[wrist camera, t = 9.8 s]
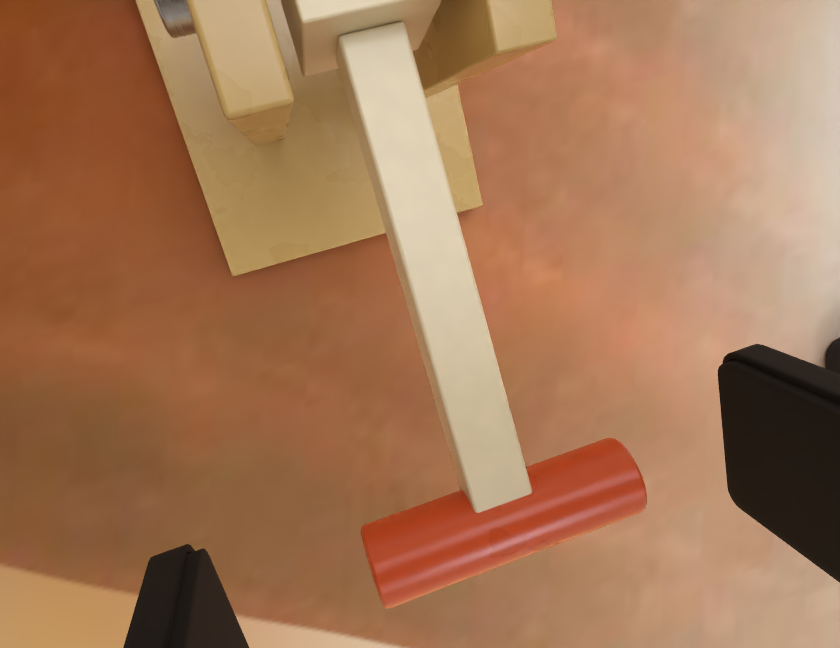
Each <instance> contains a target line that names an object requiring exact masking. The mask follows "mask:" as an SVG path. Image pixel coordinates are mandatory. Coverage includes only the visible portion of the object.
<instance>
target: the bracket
mask: <svg viewBox="0 0 840 648" xmlns="http://www.w3.org/2000/svg"><path fill="white" fill-rule="evenodd" d="M135 1H136V4H137V7H138V10H139V13H140V15H141V18H142V21H143V24H144V27H145V30H146V32H147V35H148V38H149V41H150V44H151V47H152V50H153V52H154V55H155V58H156V61H157V64H158V67H159V69H160V72H161V75H162V78H163V81H164V84H165V87H166V89H167V92H168V95H169V98H170V101H171V104H172V106H173V109H174V112H175V115H176V118H177V121H178V124H179V126H180V129H181V132H182V135H183V138H184V141H185V143H186V146H187V149H188V152H189V155H190V158H191V161H192V163H193V166H194V169H195V172H196V175H197V178H198V180H199V183H200V186H201V189H202V192H203V195H204V198H205V200H206V203H207V206H208V209H209V212H210V215H211V217H212V220H213V223H214V226H215V229H216V232H217V235H218V237H219V240H220V243H221V246H222V249H223V252H224V254H225V257H226V260H227V263H228V266H229V269H230V271H231V274H232V276H236V275H240V274H243V273H247V272H250V271H254V270H257V269H261V268H264V267H268V266H272V265H275V264H279V263H282V262H286V261H289V260H293V259H296V258H300V257H303V256H307V255H310V254H314V253H317V252H321V251H325V250H328V249H332V248H335V247H339V246H342V245H346V244H349V243H353V242H356V241H360V240H363V239H367V238H370V237H374V236H377V235H381V234H385V233H386V231H385V228H384V225H383V221H382V218H381V214H380V211H379V207H378V204H377V200H376V197H375V193H374V190H373V187H372V183H371V180H370V176H369V173H368V169H367V166H366V162H365V159H364V155H363V152H362V149H361V145H360V142H359V138H358V135H357V131H356V128H355V124H354V121H353V117H352V114H351V111H350V107H349V104H348V100H347V97H346V93H345V90H344V86H343V83H342V79H341V76H340V73H339V69H334V70H330V71H326V72H321V73H317V74H313V75H309V76H304V75H303V74H302V71H301V67H300V64H299V61H298V57H297V54H296V51H295V47H294V44H293V41H292V37H291V34H290V30H289V27H288V24H287V20H286V17H285V14H284V10H283V7H282V4H281V0H135ZM556 38H557V34H556V28H555V22H554V15H553V9H552V3H551V0H442V1H441V3H440V5H439V7H438V9H437V11H436V13H435V15H434V17H433V20H432V22H431V24H430V26H429V28H428V30H427V32H426V34H425V36H424V38H423V40H422V42H421V44H420V46H419V48H418V49H417V50H414V51H413V54H414V58H415V62H416V65H417V69H418V73H419V76H420V80H421V84H422V87H423V91H424V95H425V98H426V102H427V106H428V109H429V113H430V117H431V120H432V124H433V128H434V131H435V135H436V139H437V142H438V146H439V150H440V153H441V157H442V161H443V164H444V168H445V172H446V175H447V179H448V183H449V187H450V190H451V194H452V198H453V201H454V205H455V209H456V212H457V213H459V212H462V211H466V210H469V209H473V208H476V207H480V206H482V205H483V204H482V199H481V194H480V189H479V185H478V180H477V175H476V170H475V166H474V161H473V156H472V151H471V147H470V142H469V137H468V132H467V128H466V123H465V118H464V113H463V109H462V104H461V99H460V94H459V90H458V85H457V84H459V83H462V82H464V81H466V80H468V79H471V78H473V77H475V76H477V75H479V74H482V73H484V72H486V71H488V70H491V69H493V68H495V67H497V66H499V65H502V64H504V63H506V62H508V61H511V60H513V59H515V58H517V57H520V56H522V55H524V54H526V53H528V52H531V51H533V50H535V49H537V48H540V47H542V46H544V45H546V44H549V43H551V42H553V41H555V40H556Z"/></svg>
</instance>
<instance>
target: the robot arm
mask: <svg viewBox="0 0 840 648" xmlns="http://www.w3.org/2000/svg"><path fill="white" fill-rule="evenodd" d="M718 382H719V393H720V405H721V416H722V428H723V439H724V451H725V462H726V474H727V485H728V491H729V494H730V496H731V498H732V500H733V501H734V503H735V504H736V505H737V506H738V507H739V508H740V509H741V510H743V511H744V512H745V513H747V514H748V515H750V516H751V517H752V518H754V519H755V520H756V521H758V522H759V523H760V524H762V525H763V526H764V527H766V528H767V529H768V530H770V531H771V532H772V533H774V534H775V535H776V536H778V537H779V538H781V539H782V540H783V541H785V542H786V543H787V544H789V545H790V546H791V547H793V548H794V549H795V550H797V551H798V552H799V553H801V554H802V555H803V556H805V557H806V558H807V559H809V560H810V561H811V562H813V563H814V564H816V565H817V566H818V567H820V568H821V569H822V570H824V571H825V572H826V573H828V574H829V575H830V576H832V577H833V578H834V579H836V580H837V581H838V582H840V374H838V373H835V372H833V371H830V370H827V369H825V368H822V367H819V366H817V365H814V364H812V363H809V362H806V361H804V360H801V359H798V358H796V357H793V356H790V355H788V354H785V353H782V352H780V351H777V350H775V349H772V348H769V347H767V346H764V345H760V344H755V345H752V346H749V347H746V348H743V349H740V350H737V351H735V352H732V353H729V354H727V355H726V356H725V357H724V360H723V364H722V365H721V366H720V367H719V369H718ZM124 648H249V646H248V644H247V642H246V639H245V637H244V635H243V633H242V630H241V628H240V626H239V623H238V621H237V619H236V616H235V614H234V612H233V609H232V607H231V605H230V602H229V600H228V598H227V596H226V593H225V591H224V589H223V586H222V584H221V582H220V579H219V577H218V575H217V572H216V570H215V568H214V566H213V563H212V561H211V559H210V556H209V554H208V552H207V551H206V550H205V549H200V550H197V551H194V549H193V548H192V546H191V545H189V544H186V545H184V546H181V547H178V548H175V549H172V550H169V551H167V552H164V553H161V554H158V555H155V556H153V557H151V558H150V560H149V562H148V566H147V569H146V572H145V576H144V579H143V583H142V586H141V589H140V593H139V596H138V600H137V603H136V607H135V610H134V613H133V617H132V620H131V624H130V627H129V631H128V634H127V637H126V641H125V644H124Z"/></svg>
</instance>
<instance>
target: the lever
mask: <svg viewBox="0 0 840 648" xmlns="http://www.w3.org/2000/svg"><path fill="white" fill-rule="evenodd" d="M441 1H442V0H281V4H282V7H283V10H284V14H285V17H286V20H287V24H288V27H289V30H290V34H291V37H292V41H293V44H294V47H295V51H296V54H297V57H298V61H299V64H300V67H301V71H302V74H303V75H304V76H309V75H313V74H317V73H321V72H326V71H330V70H334V69H339V73H340V76H341V79H342V83H343V86H344V90H345V93H346V97H347V100H348V104H349V107H350V111H351V114H352V117H353V121H354V124H355V128H356V131H357V135H358V138H359V142H360V145H361V149H362V152H363V155H364V159H365V162H366V166H367V169H368V173H369V176H370V180H371V183H372V187H373V190H374V193H375V197H376V200H377V204H378V207H379V211H380V214H381V218H382V221H383V225H384V228H385V231H386V235H387V238H388V242H389V245H390V249H391V252H392V256H393V259H394V263H395V266H396V269H397V273H398V276H399V280H400V283H401V287H402V290H403V294H404V297H405V301H406V304H407V307H408V311H409V314H410V318H411V321H412V325H413V328H414V332H415V335H416V339H417V342H418V345H419V349H420V352H421V356H422V359H423V363H424V366H425V370H426V373H427V377H428V380H429V383H430V387H431V390H432V394H433V397H434V401H435V404H436V408H437V411H438V415H439V418H440V422H441V425H442V428H443V432H444V435H445V439H446V442H447V446H448V449H449V453H450V456H451V460H452V463H453V466H454V470H455V473H456V477H457V480H458V484H459V487H460V491H458V492H455V493H452V494H449V495H446V496H444V497H441V498H438V499H435V500H432V501H430V502H427V503H424V504H421V505H418V506H416V507H413V508H410V509H407V510H404V511H402V512H399V513H396V514H393V515H390V516H388V517H385V518H382V519H379V520H376V521H374V522H371V523H368V524H365V525H363V526H362V527H361V535H362V540H363V544H364V548H365V551H366V555H367V559H368V562H369V566H370V569H371V572H372V576H373V579H374V582H375V586H376V589H377V592H378V595H379V598H380V600H381V603H382V605H383V606H384V608H388V609H389V608H391V607H394V606H397V605H399V604H402V603H405V602H407V601H410V600H412V599H415V598H418V597H420V596H423V595H426V594H428V593H431V592H433V591H436V590H439V589H441V588H444V587H447V586H449V585H452V584H454V583H457V582H460V581H462V580H465V579H468V578H470V577H473V576H475V575H478V574H481V573H483V572H486V571H489V570H491V569H494V568H496V567H499V566H502V565H504V564H507V563H510V562H512V561H515V560H517V559H520V558H523V557H525V556H528V555H531V554H533V553H536V552H538V551H541V550H544V549H546V548H549V547H552V546H554V545H557V544H559V543H562V542H565V541H567V540H570V539H573V538H575V537H578V536H580V535H583V534H586V533H588V532H591V531H594V530H596V529H599V528H601V527H604V526H607V525H609V524H612V523H615V522H617V521H620V520H622V519H625V518H628V517H630V516H633V515H636V514H638V513H641V512H642V511H643V510H644V509H645V507H646V504H647V494H646V488H645V484H644V481H643V478H642V475H641V473H640V471H639V468H638V466H637V464H636V462H635V461H634V459H633V457H632V456H631V454H630V453H629V451H628V450H627V449H626V448H625V447H624V445H623V444H622V443H620V442H619V441H618V440H616V439H613V438H606V439H603V440H601V441H598V442H595V443H592V444H589V445H587V446H584V447H581V448H578V449H575V450H572V451H570V452H567V453H564V454H561V455H558V456H556V457H553V458H550V459H547V460H544V461H542V462H539V463H536V464H533V465H530V466H528V467H526V466H525V462H524V459H523V455H522V451H521V447H520V444H519V440H518V436H517V433H516V429H515V425H514V422H513V418H512V414H511V411H510V407H509V403H508V400H507V396H506V392H505V389H504V385H503V381H502V378H501V374H500V370H499V367H498V363H497V359H496V356H495V352H494V348H493V345H492V341H491V337H490V334H489V330H488V326H487V323H486V319H485V315H484V311H483V308H482V304H481V300H480V297H479V293H478V289H477V286H476V282H475V278H474V275H473V271H472V267H471V264H470V260H469V256H468V253H467V249H466V245H465V242H464V238H463V234H462V231H461V227H460V223H459V220H458V216H457V212H456V209H455V205H454V201H453V198H452V194H451V190H450V187H449V183H448V179H447V175H446V172H445V168H444V164H443V161H442V157H441V153H440V150H439V146H438V142H437V139H436V135H435V131H434V128H433V124H432V120H431V117H430V113H429V109H428V106H427V102H426V98H425V95H424V91H423V87H422V84H421V80H420V76H419V73H418V69H417V65H416V62H415V58H414V54H413V51H414V50H417V49H418V48H419V46H420V44H421V42H422V40H423V38H424V36H425V34H426V32H427V30H428V28H429V26H430V24H431V22H432V20H433V17H434V15H435V13H436V11H437V9H438V7H439V5H440V3H441Z"/></svg>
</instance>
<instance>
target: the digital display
mask: <svg viewBox="0 0 840 648" xmlns="http://www.w3.org/2000/svg"><path fill="white" fill-rule="evenodd" d="M827 370H830V371H833V372H835V373H838V374H840V339H838V340H836V341H835V342H834V343H833V344H832V345H831V346H830V348H829V350H828V353H827Z"/></svg>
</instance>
